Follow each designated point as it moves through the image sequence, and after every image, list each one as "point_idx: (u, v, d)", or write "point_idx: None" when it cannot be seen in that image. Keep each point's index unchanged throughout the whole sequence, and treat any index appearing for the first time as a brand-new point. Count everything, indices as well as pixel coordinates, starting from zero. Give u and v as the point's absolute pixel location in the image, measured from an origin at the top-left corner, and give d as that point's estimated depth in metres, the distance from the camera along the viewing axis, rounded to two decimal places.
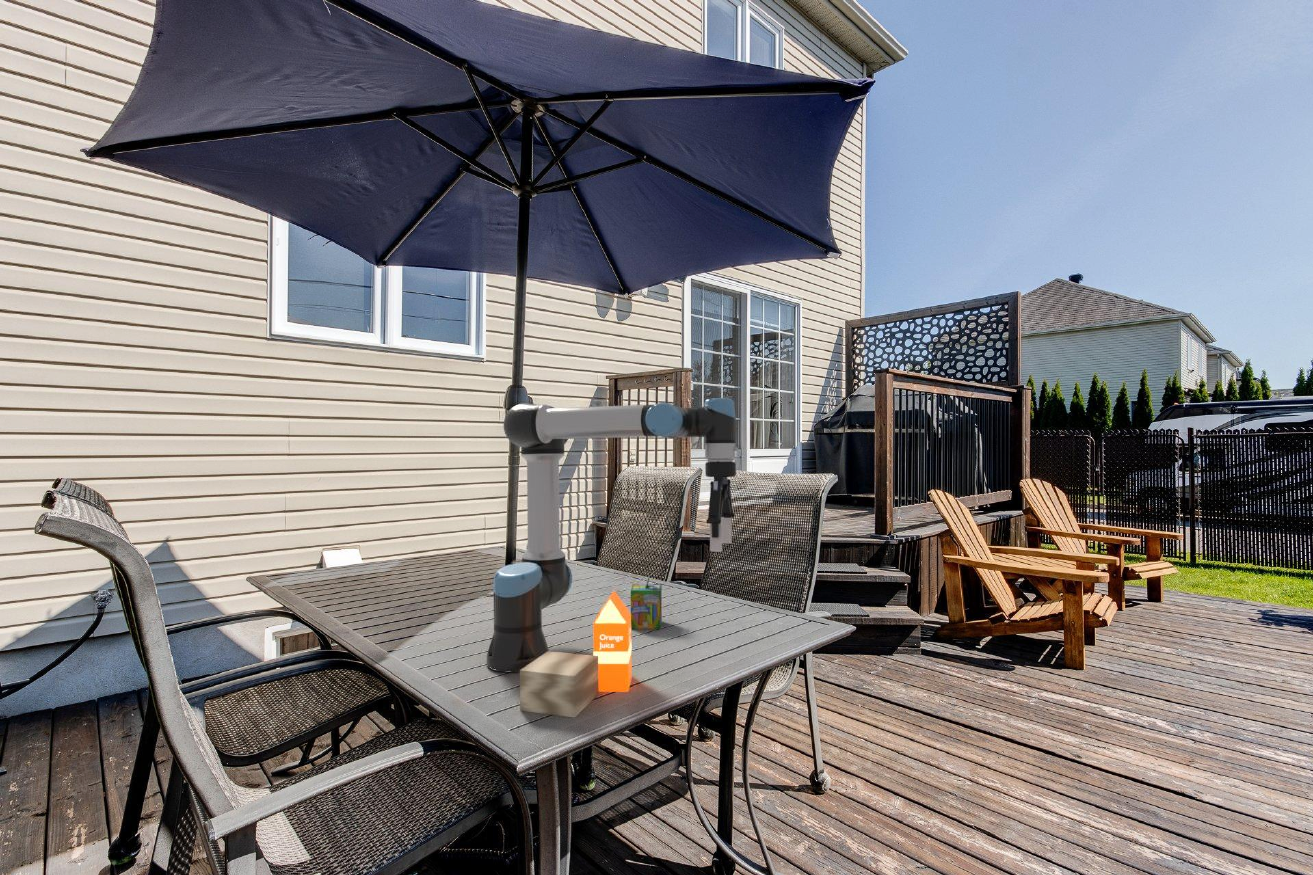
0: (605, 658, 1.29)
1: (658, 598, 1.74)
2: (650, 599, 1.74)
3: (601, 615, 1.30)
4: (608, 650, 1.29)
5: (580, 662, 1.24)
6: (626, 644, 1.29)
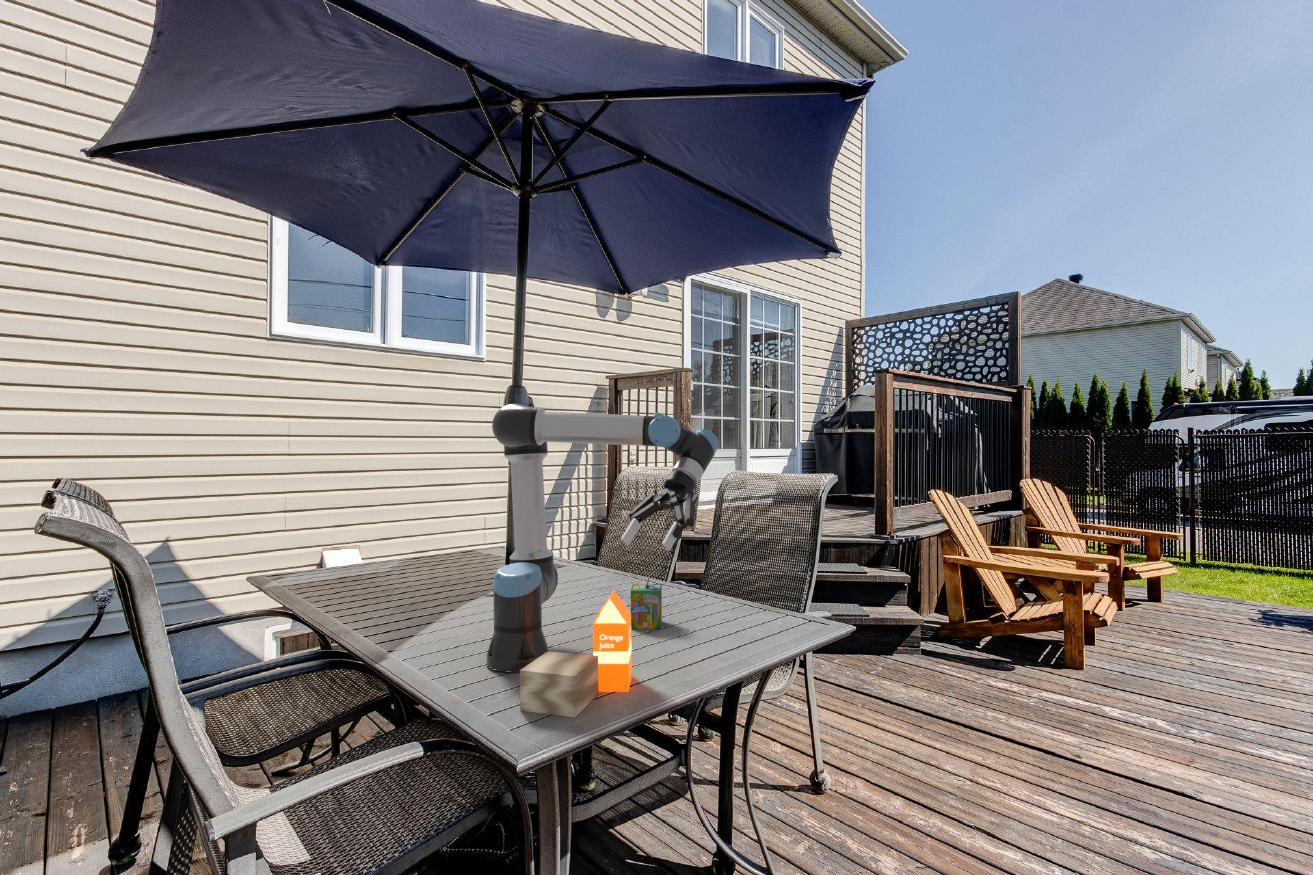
0: (605, 658, 1.29)
1: (658, 598, 1.74)
2: (650, 599, 1.74)
3: (601, 615, 1.30)
4: (608, 650, 1.29)
5: (580, 662, 1.24)
6: (626, 644, 1.29)
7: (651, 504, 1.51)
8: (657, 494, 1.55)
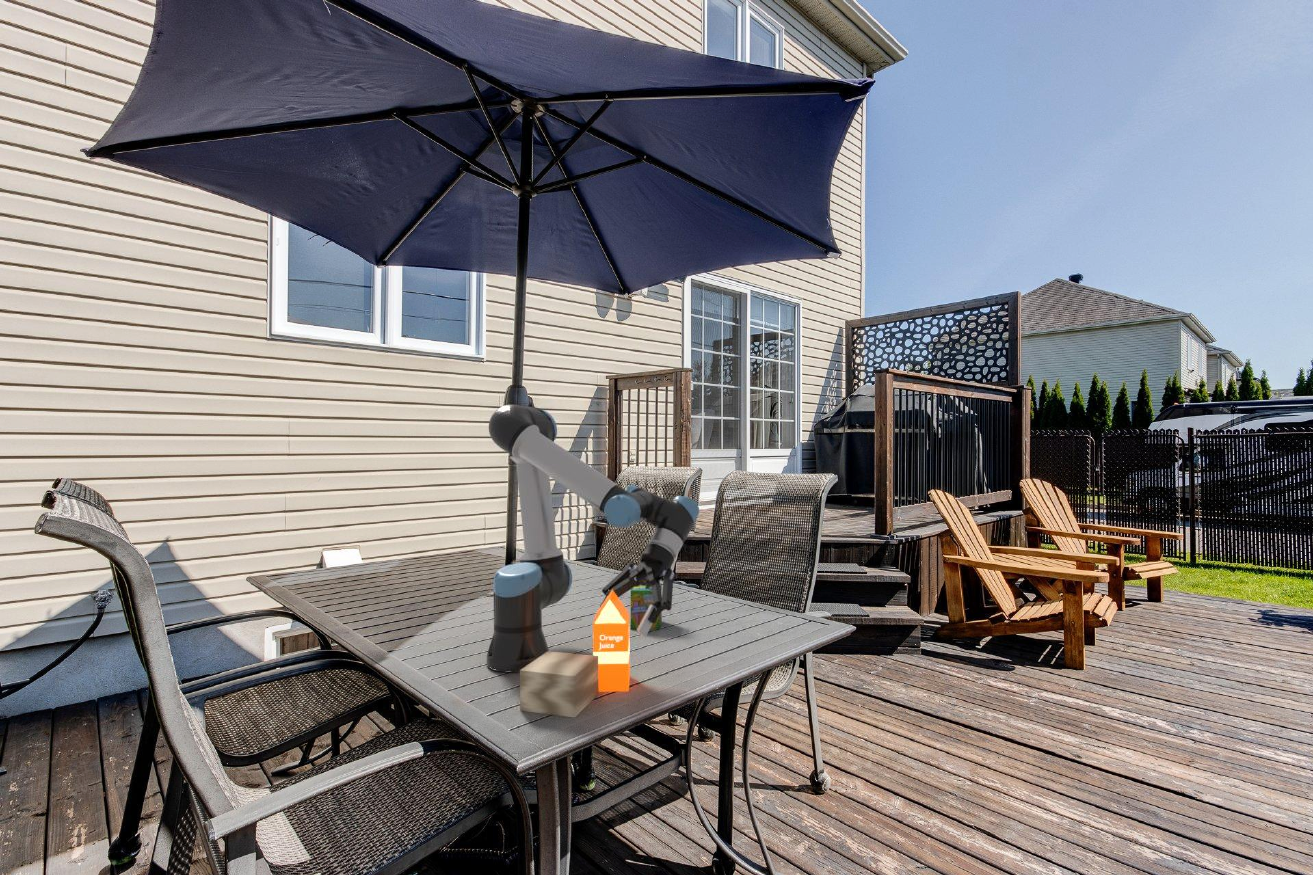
0: (605, 658, 1.29)
1: None
2: (650, 599, 1.74)
3: (601, 615, 1.29)
4: (608, 650, 1.29)
5: (580, 662, 1.24)
6: (626, 644, 1.29)
7: (626, 580, 1.42)
8: (633, 568, 1.45)
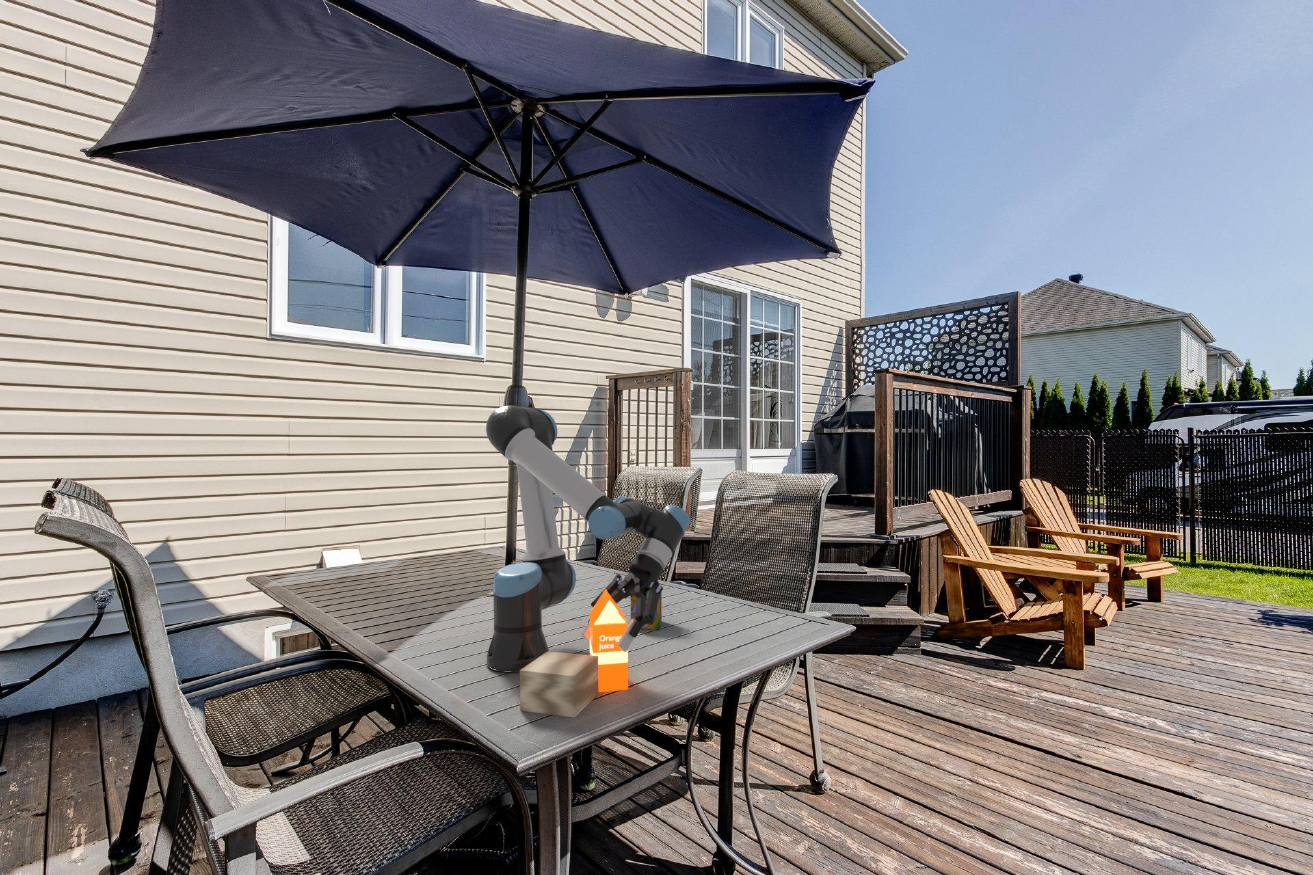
0: (605, 658, 1.29)
1: None
2: None
3: (600, 616, 1.29)
4: (608, 650, 1.29)
5: (580, 662, 1.24)
6: None
7: (615, 592, 1.40)
8: (621, 579, 1.43)
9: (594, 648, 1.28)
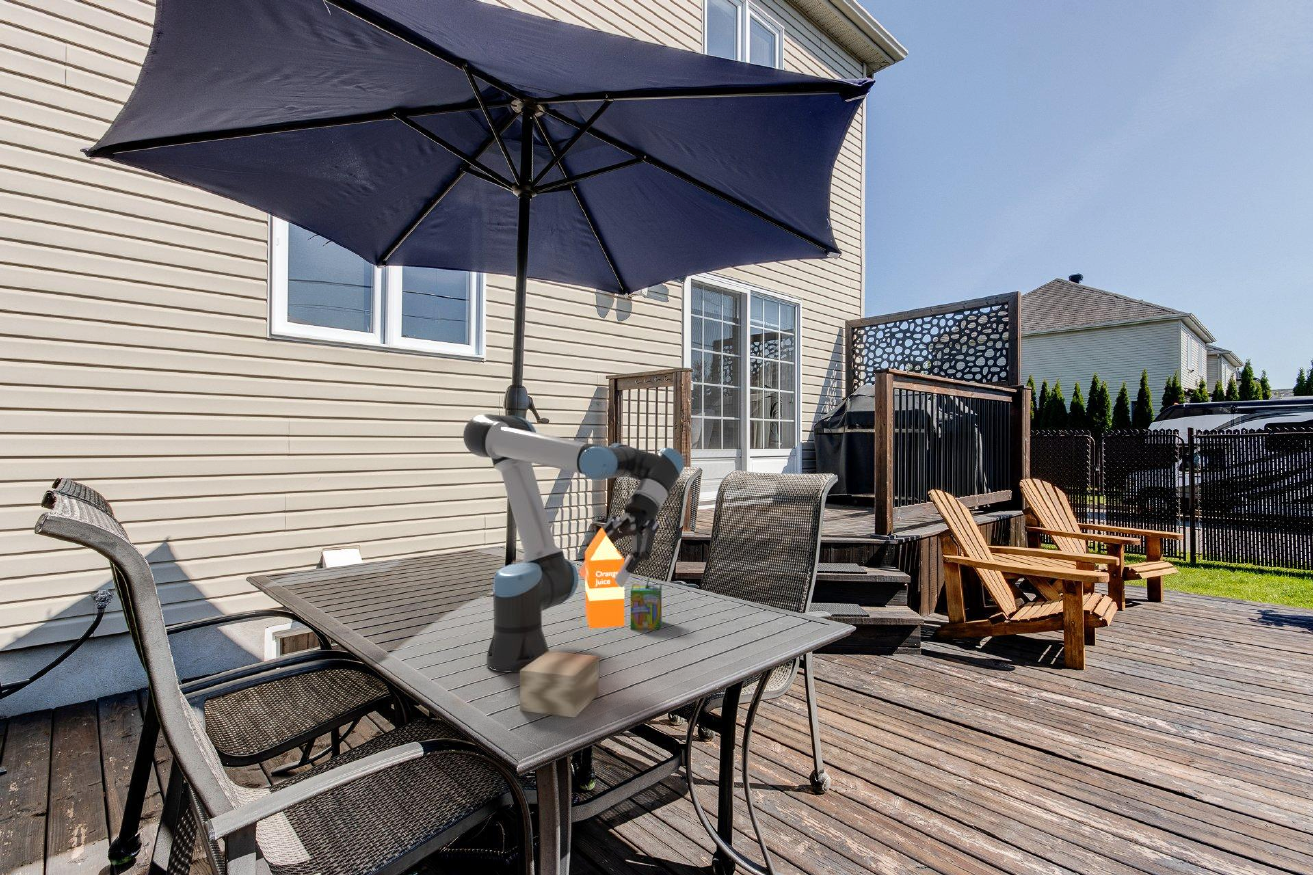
0: (601, 594, 1.28)
1: (658, 598, 1.74)
2: (650, 599, 1.74)
3: (597, 552, 1.28)
4: (604, 586, 1.28)
5: (580, 662, 1.24)
6: None
7: (610, 532, 1.38)
8: (616, 520, 1.42)
9: (590, 584, 1.27)
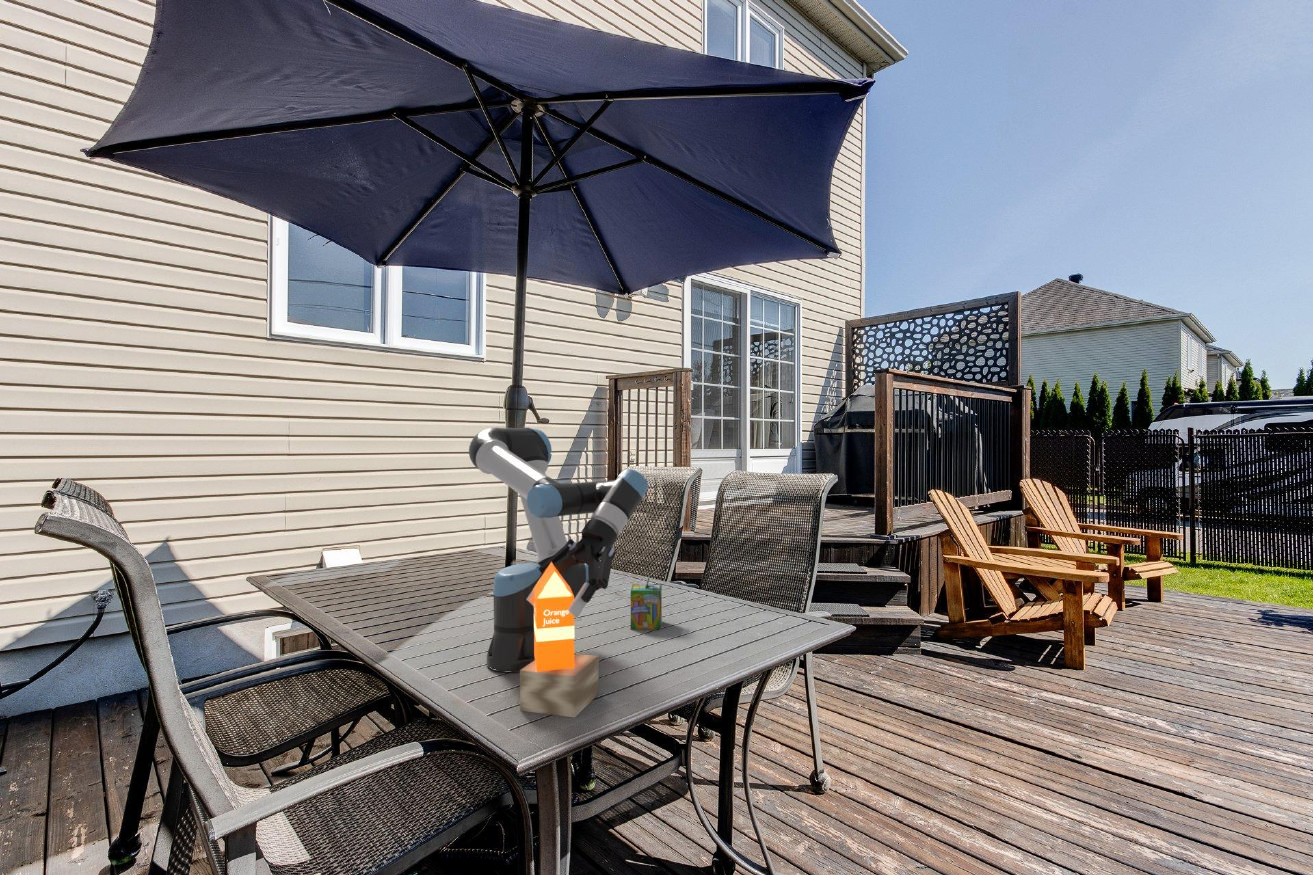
0: (549, 634, 1.20)
1: (658, 598, 1.74)
2: (650, 599, 1.74)
3: (545, 589, 1.20)
4: (553, 626, 1.20)
5: (580, 662, 1.24)
6: (572, 618, 1.21)
7: (564, 558, 1.31)
8: (573, 545, 1.34)
9: (538, 623, 1.19)
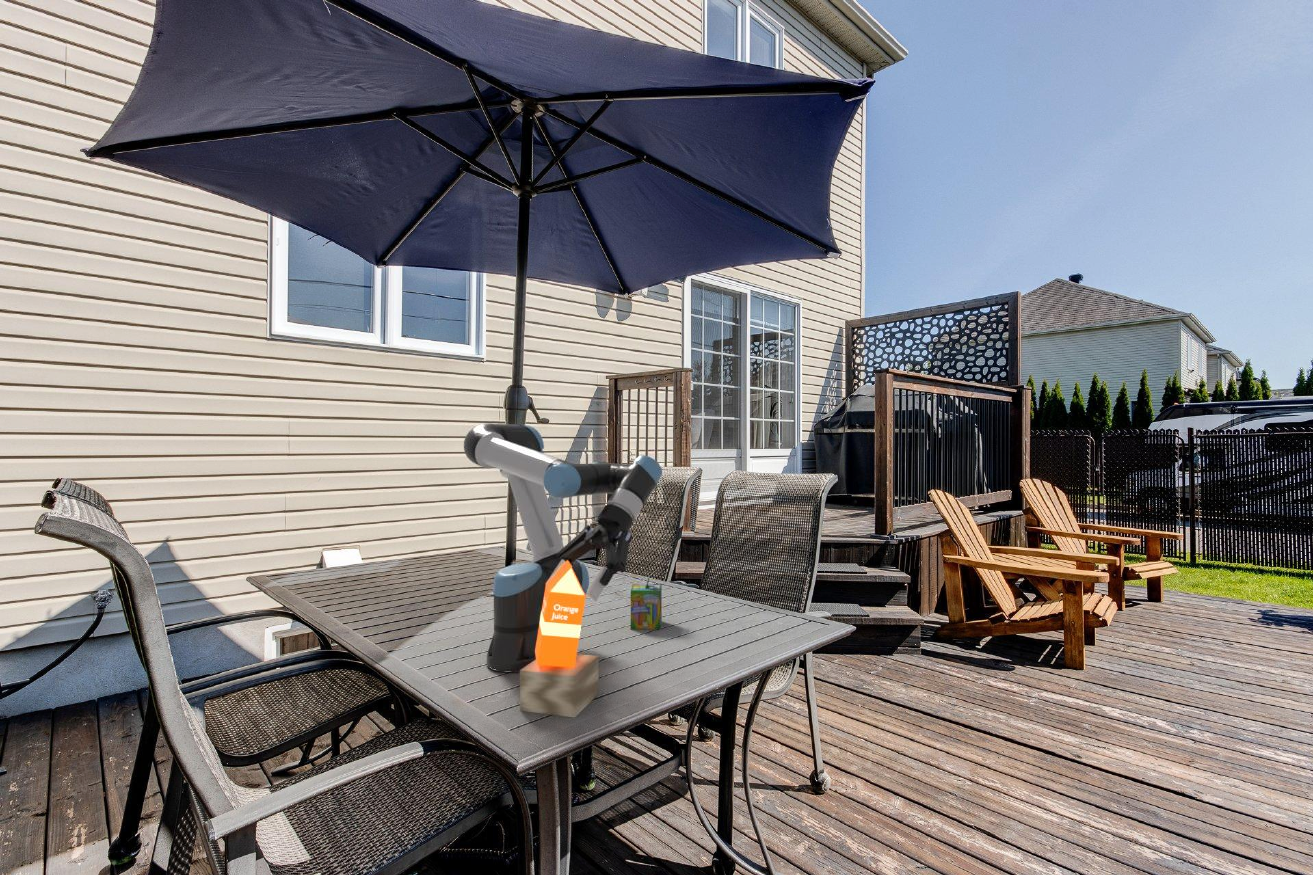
0: (556, 630, 1.20)
1: (658, 598, 1.74)
2: (650, 599, 1.74)
3: (559, 584, 1.21)
4: (560, 622, 1.21)
5: (580, 662, 1.24)
6: (580, 617, 1.22)
7: (582, 543, 1.33)
8: (590, 530, 1.37)
9: (546, 617, 1.20)
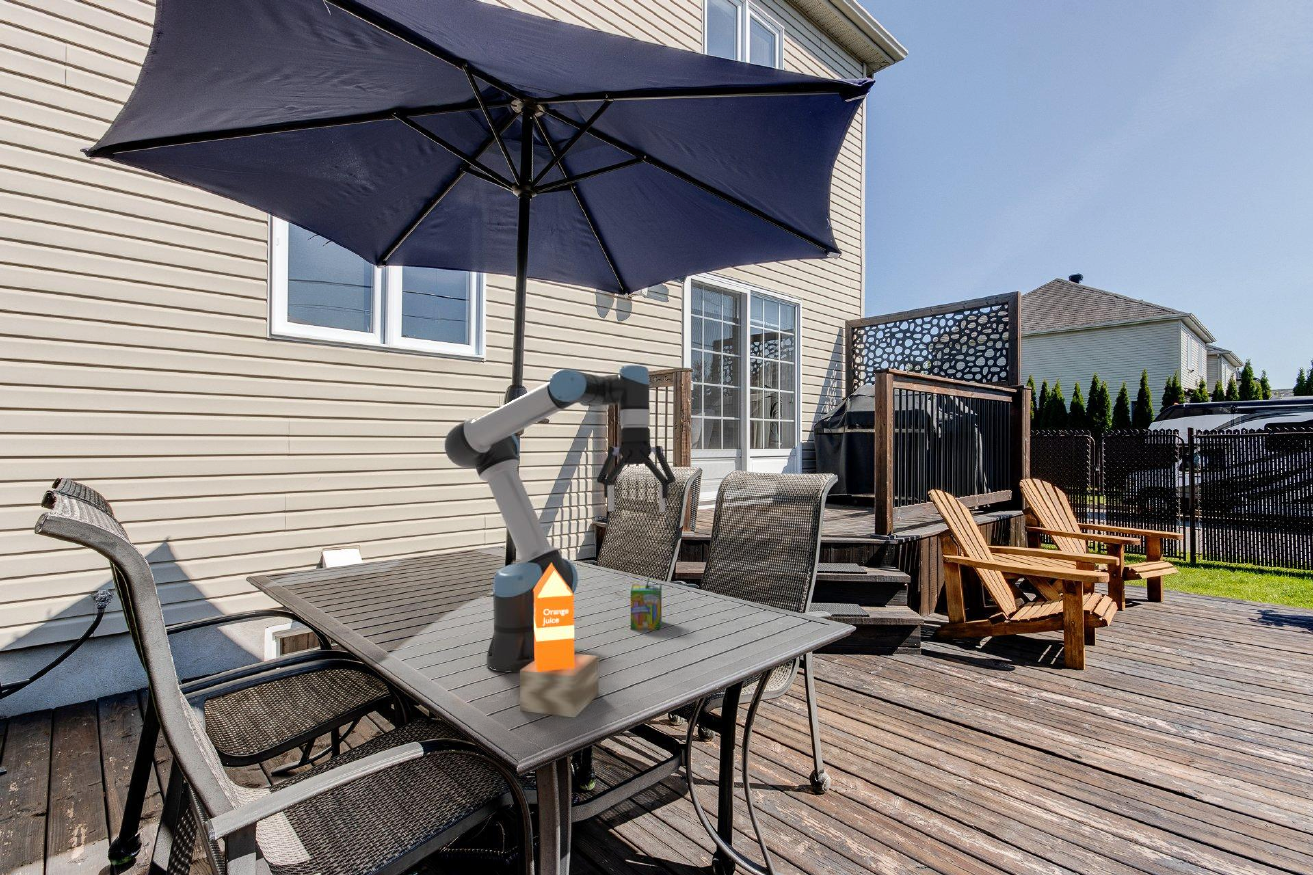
0: (549, 634, 1.20)
1: (658, 598, 1.74)
2: (650, 599, 1.74)
3: (544, 588, 1.21)
4: (552, 625, 1.20)
5: (580, 662, 1.24)
6: (572, 617, 1.21)
7: (618, 466, 1.51)
8: (615, 450, 1.52)
9: (538, 623, 1.20)
